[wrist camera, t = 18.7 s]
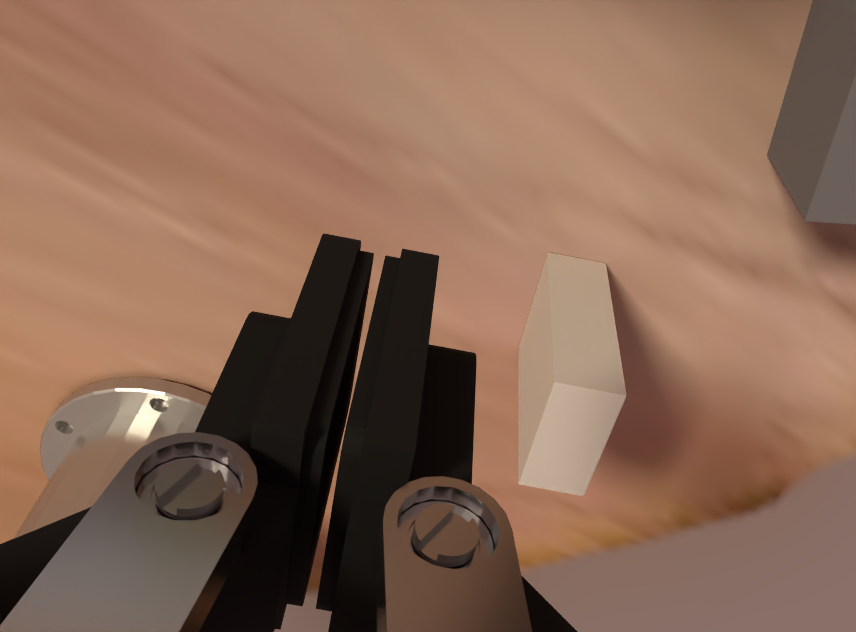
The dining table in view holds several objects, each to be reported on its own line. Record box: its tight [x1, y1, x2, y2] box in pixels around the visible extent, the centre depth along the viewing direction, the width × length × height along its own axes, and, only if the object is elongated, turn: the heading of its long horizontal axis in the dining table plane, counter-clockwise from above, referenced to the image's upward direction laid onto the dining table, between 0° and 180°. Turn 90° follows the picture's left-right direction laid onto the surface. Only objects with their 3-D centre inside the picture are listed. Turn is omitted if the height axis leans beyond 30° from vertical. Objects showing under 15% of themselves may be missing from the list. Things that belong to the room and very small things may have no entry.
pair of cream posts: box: [519, 252, 627, 496], centre depth 25 cm, size 27×3×8 cm, turn 170°
